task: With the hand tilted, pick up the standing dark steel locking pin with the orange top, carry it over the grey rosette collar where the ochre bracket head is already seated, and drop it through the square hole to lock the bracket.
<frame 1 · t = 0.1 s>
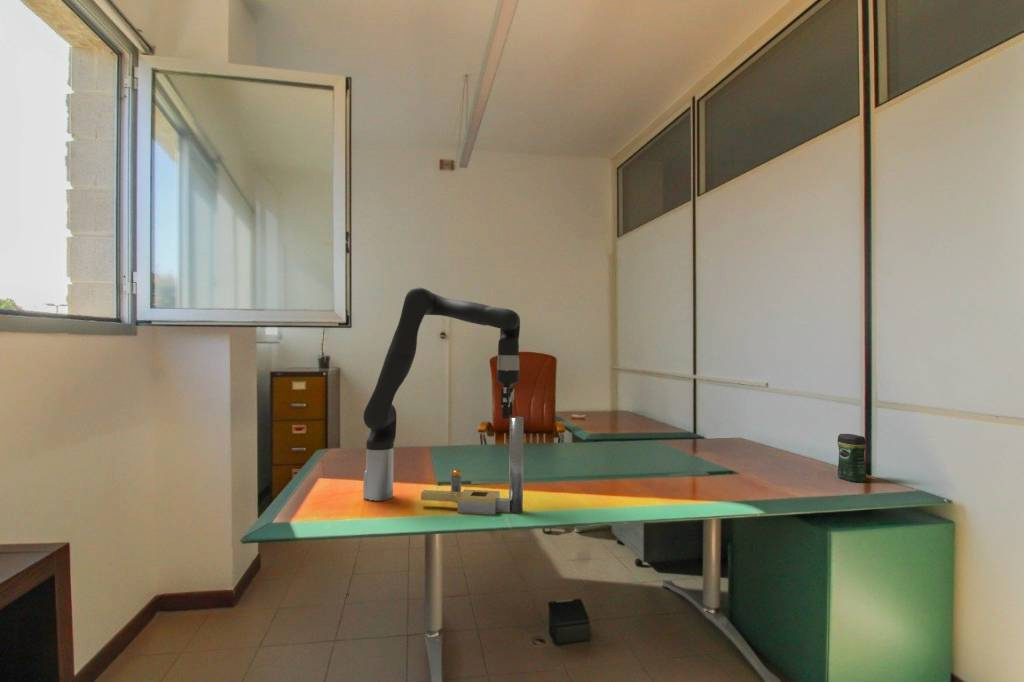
hand: (507, 416, 171), 29 cm above the table, tool pointing down, fingers open, 8 cm apart
wedge pin: (455, 500, 174), on the table
rosette bracket: (485, 509, 163), on the table
coffee jar: (851, 480, 206), on the table
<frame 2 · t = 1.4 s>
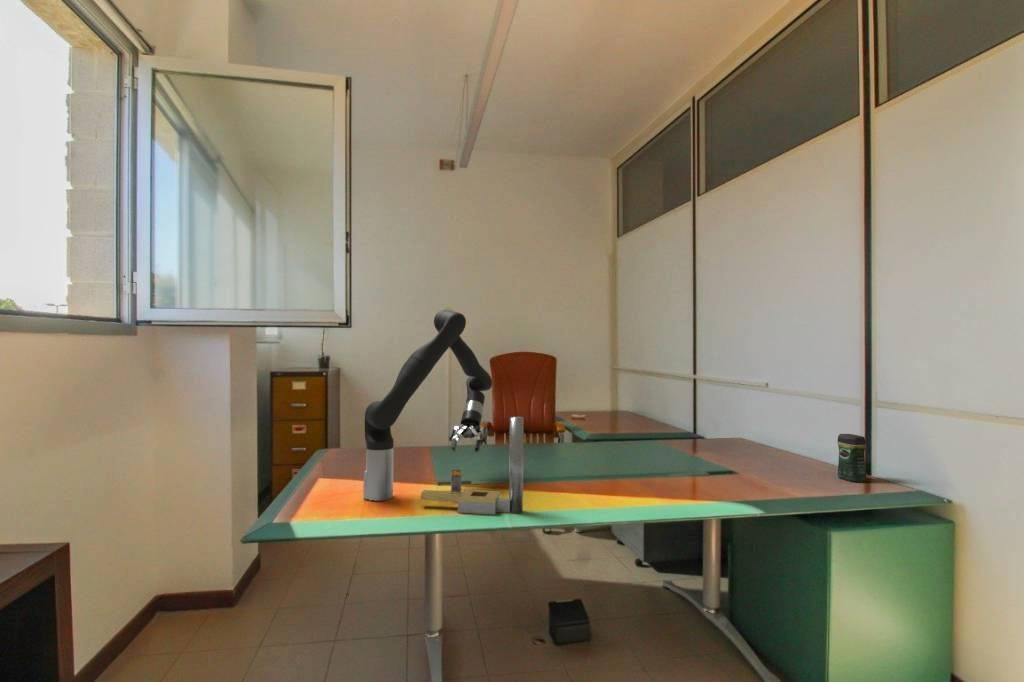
hand: (464, 450, 185), 15 cm above the table, tool tilted 45°, fingers open, 8 cm apart
nothing on the table moved.
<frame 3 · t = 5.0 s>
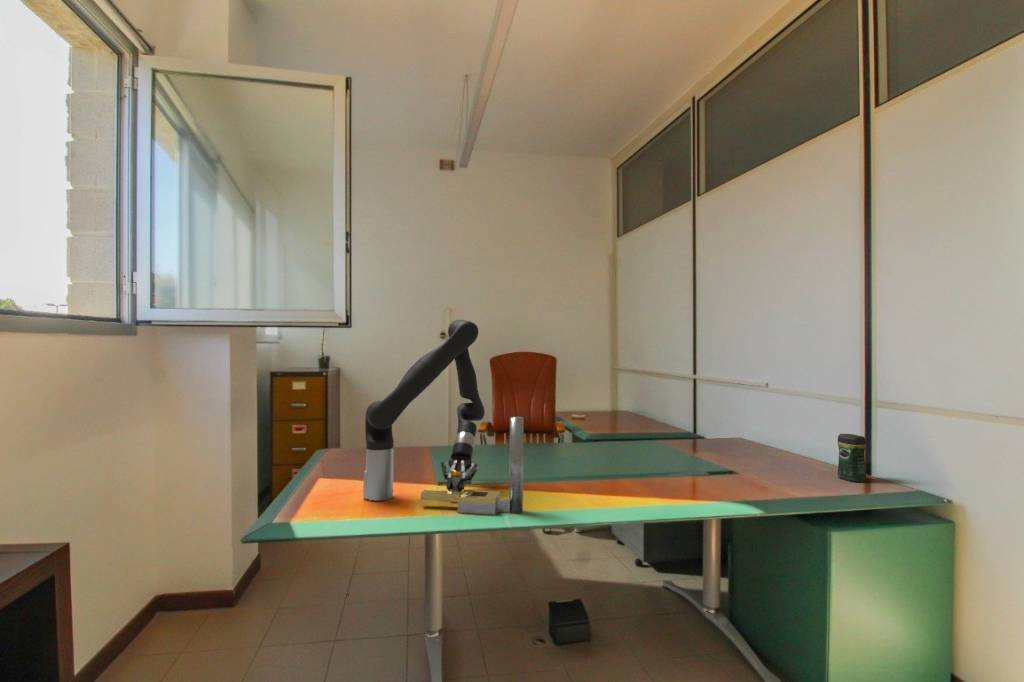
hand: (454, 489, 172), 4 cm above the table, tool tilted 45°, fingers closed on wedge pin, 3 cm apart
wedge pin: (456, 500, 174), on the table, touching gripper
everything else where it was.
when the fingers open (10 cm above the table, at t = 9.0 s): wedge pin drops 6 cm, resting in rosette bracket.
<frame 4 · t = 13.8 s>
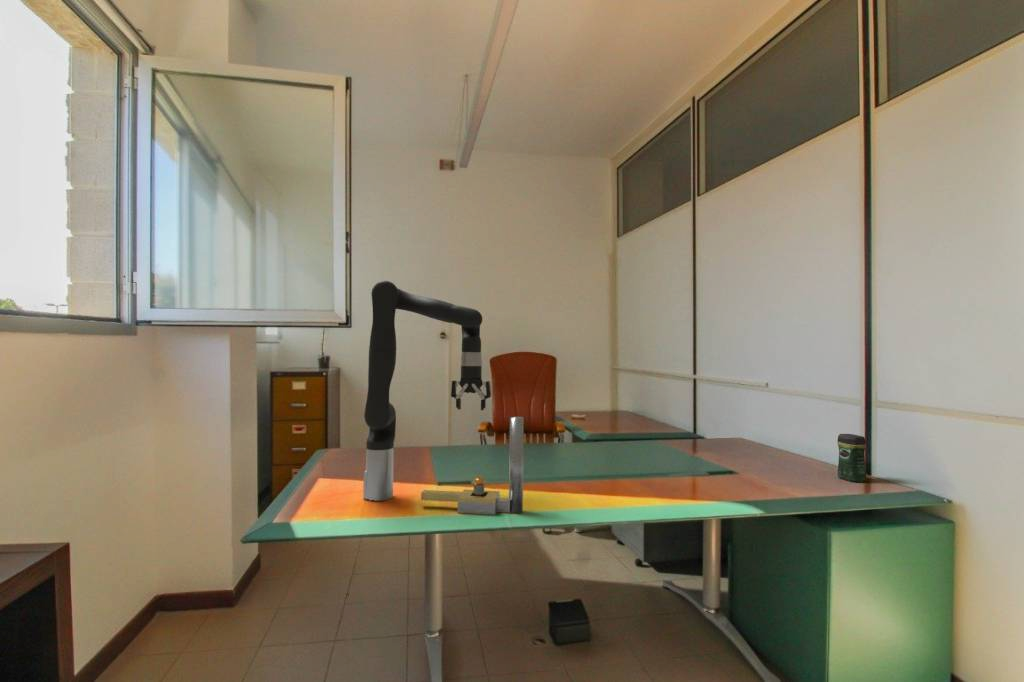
hand: (470, 409, 182), 30 cm above the table, tool pointing down, fingers open, 8 cm apart
wedge pin: (478, 509, 164), resting in rosette bracket
everything else where it was.
at the end: wedge pin 0.2 cm from the target spot on the rosette bracket, point 0.0 cm above the rosette bracket's base; wedge pin tilted 0°; the gripper is holding nothing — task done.
